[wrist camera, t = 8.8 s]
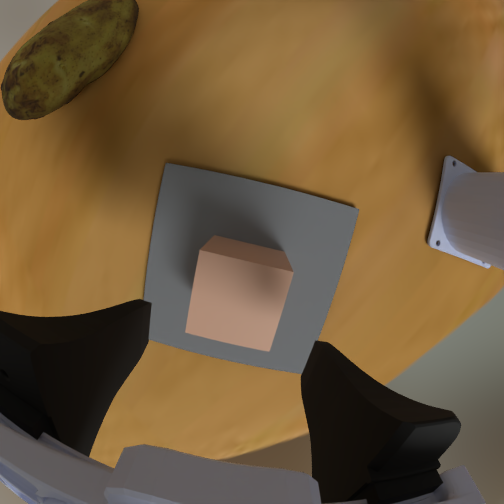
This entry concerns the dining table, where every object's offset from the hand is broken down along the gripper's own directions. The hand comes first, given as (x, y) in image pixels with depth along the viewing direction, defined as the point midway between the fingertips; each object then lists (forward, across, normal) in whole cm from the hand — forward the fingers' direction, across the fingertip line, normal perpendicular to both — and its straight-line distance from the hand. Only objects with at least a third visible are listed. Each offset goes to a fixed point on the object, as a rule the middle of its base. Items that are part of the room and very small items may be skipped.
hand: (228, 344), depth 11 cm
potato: (+10, +17, -15) cm, 25 cm away
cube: (+9, 0, 0) cm, 9 cm away
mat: (+9, 0, 0) cm, 9 cm away
